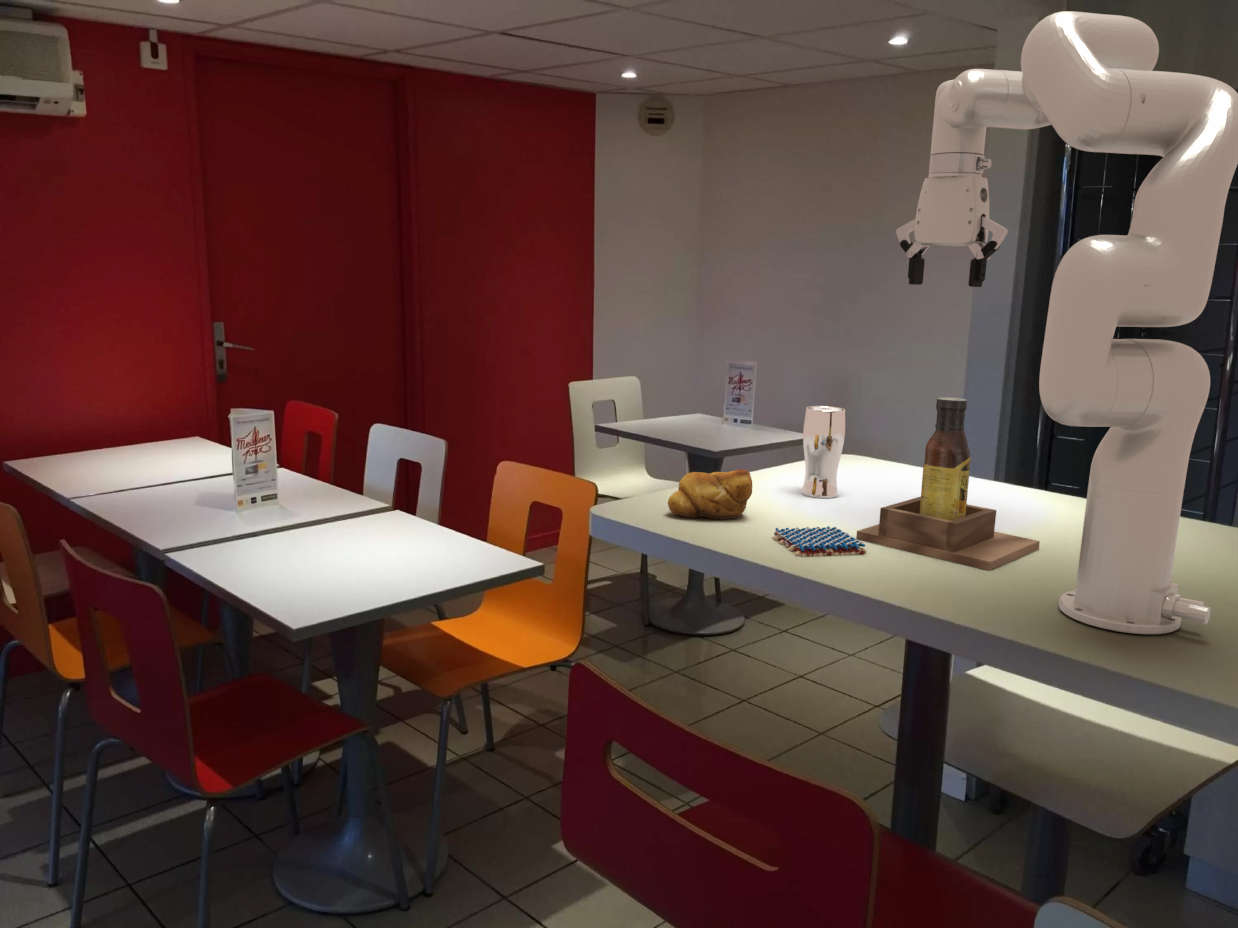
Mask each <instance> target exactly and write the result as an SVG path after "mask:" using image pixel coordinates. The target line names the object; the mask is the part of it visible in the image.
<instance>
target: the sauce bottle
mask: <svg viewBox="0 0 1238 928" xmlns="http://www.w3.org/2000/svg"><path fill="white" fill-rule="evenodd" d="M935 405H936V406H935V409H936V423H935V425H934V426H935V431H934V432H933V433H932V435H931V437H930V438H929V439H928V440H927V443H926V444H925V445H926V446H925V448H924V452H925V453H924V463H923V466H922V467H923V468H922V477H921V478H922V479H921V480H922V481H921V493H920V497H921V501H920V514H922V515H927V516H932V517H937V518H941V519H946V520H951V521H953V520H956V519H959V518H962V517H965V515H966V504H968V503H967V501H968V495H969V494H968V491H969V481H970V470H971V469H970V467H971V456H972V455H971V452H970V448H969V444H968V441H967V437H966V433H965V418H966V417H965V415H966V411H967V407H968V399H966V398H960V397H937V398H936V404H935Z"/></svg>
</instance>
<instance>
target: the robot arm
mask: <svg viewBox="0 0 1238 928" xmlns="http://www.w3.org/2000/svg"><path fill="white" fill-rule="evenodd" d="M1159 53H1160V47H1159V41H1158V37H1157V36H1156V34H1155V32H1154V31H1153V29H1152V28H1151V27H1150V26H1149V25H1147V24H1146V23H1145V22H1144V21H1141V20H1140V19H1137V18H1134V17H1132V16H1126V15H1125V16H1124V15H1118V14H1103V13H1093V12H1086V11H1085V12H1083V11H1075V10H1074V11H1071V10H1070V11H1069V10H1068V11H1066V10H1064V11H1058V12H1054V13H1052V14H1050V15H1047V16H1046V17H1044V18H1043V19H1041V20H1040V21H1039V22H1038V23H1036V24H1035V26H1034V27H1033V28H1032V29H1031V31H1030V32H1029V34H1028V35H1027V36H1026V39H1025V41H1024V44H1023V47H1022V51H1021V55H1020V68H1021V71H1018V70H1008V69H1005V70H1004V69H987V68H986V69H985V68H971V69H967V70H964V71H963V72H961V73H960V74H958V75H957V76H956V77H955V78H954V79H951V80H950V79H949V80H947V81H944V82H942V83H941V84H940V85H939V86H938V87H937V89H936V92H935V98H934V100H935V101H934V112H933V123H932V132H931V133H932V134H931V143H930V144H931V145H930V146H931V147H930V156H929V157H930V158H929V169H928V177H926V178H924V181H923V184H922V186H921V190H920V194H919V197H918V202H917V207H916V214H915V218H914V219H912V220H910V221H908V222H907V223H905V224H902V225H901V226H899V227H898V228H897V229H895V233H896V236H897V240H898V242H899V246H900V248H901V249H902V250H903V252H904V253H905V256H906V257H907V258H908V261H909V262H908V270H907V278H908V284H909V285H914V286H915V285H919V286H920V285H923V282H924V272H925V264H926V263H925V261H926V260H925V258H924V257H923V256H924V254H925V253H926V252H927V251H928V250H929V249H930V247H931V246H933V247H953V248H954V247H963V248H965V247H968V249H969V250H970V251H971V253H972V254H973V256H974V258H972V259H971V260H970V265H969V275H968V276H969V277H968V286H969V287H970V288H972V287H973V288H982V286H983V282H984V281H985V280H986V271H987V262H988V260H990V259H991V257H992V255H993V254H994V253H995V252H997V251H998V249H1000V248H1001V244H1002V243H1003V241H1004V240H1005V238H1006V236H1007V235H1008V233H1009V230H1008V228H1006V227H1005V226H1002V225H1001V224H999V223H998V222H996V221H993V220H992V219H991V218H990V191H989V184H988V183H989V182H988V178H987V177H982V175H983V174H984V171H985V170H986V169H990V168H992V163H993V162H992V159H991V158H986V157H985V147H986V146H985V145H986V134H987V128H1001V129H1013V130H1015V129H1016V130H1033V129H1038V128H1044V127H1048V126H1052V128H1053V129H1054V131H1055V132H1056V133H1057V135H1058V136H1059V137H1060V138H1061V139H1062V141H1064V142H1065V143H1066V144H1067V145H1069V146H1070V147H1072V148H1075V149H1077V150H1079V151H1084V152H1088V153H1089V152H1090V153H1091V152H1092V153H1105V154H1106V153H1109V154H1110V153H1111V154H1122V155H1123V154H1124V155H1125V154H1127V155H1147V156H1148V155H1149V156H1159V157H1162V158H1161V159H1160V160H1159V161H1158V162H1157V163H1156V164H1155V165H1154V166H1153V167H1152V169H1151V170H1150V171H1149V173H1148V174H1147V176H1146V177H1145V178H1144V180H1143V181H1142V183H1141V185H1140V186H1139V188H1138V190H1137V192H1136V195H1135V198H1134V203H1133V211H1132V218H1131V222H1130V228H1129V230H1128V234H1126V235H1123V234H1121V235H1120V234H1098V235H1092V236H1088V237H1085V238H1083V239H1081V240H1078V241H1076V243H1074V244H1073V245H1072V246H1071V247H1070V248H1069V249H1068V250H1067V251H1066V252H1065V254H1064V255H1063V256H1062V258H1061V260H1060V261H1059V264H1058V265H1057V269H1056V271H1055V273H1054V277H1053V280H1052V284H1051V291H1050V295H1049V303H1048V310H1047V317H1046V325H1045V331H1044V338H1043V339H1044V340H1043V345H1042V355H1041V360H1040V367H1039V368H1040V369H1039V380H1038V381H1039V383H1038V384H1039V387H1038V388H1039V397H1040V401H1041V404H1042V407H1043V409H1044V411H1045V413H1046V415H1048V416H1049V417H1050V419H1052V420H1053V421H1055V422H1057V423H1059V424H1061V425H1065V426H1069V427H1086V428H1087V427H1089V428H1090V427H1091V428H1092V427H1094V428H1096V427H1097V428H1098V427H1100V428H1101V427H1103V428H1104V427H1105V428H1106V427H1109V429H1108V431H1107V432H1106V433H1105V435H1104V436H1103V438H1102V439H1101V441H1100V442H1099V444H1098V446H1097V448H1096V450H1095V452H1094V454H1093V457H1092V461H1091V464H1090V471H1089V479H1088V485H1087V495H1086V503H1085V508H1084V509H1085V511H1084V517H1083V518H1084V520H1083V524H1082V525H1083V527H1082V532H1081V533H1082V535H1081V544H1080V550H1079V558H1078V568H1077V573H1076V574H1077V575H1076V582H1075V583H1076V584H1075V590H1071V591H1070V590H1069V591H1067V592H1064V593H1063V594H1061V595H1060V596H1059V601H1058V608H1059V610H1060V611H1061V612H1063V614H1065V615H1066V616H1068V618H1069V617H1070V618H1072V619H1074V620H1075V621H1078V622H1080V623H1083V624H1085V625H1089V626H1092V627H1096V628H1100V629H1104V630H1109V631H1113V632H1118V633H1119V632H1120V633H1128V634H1137V635H1162V634H1163V635H1164V634H1169V633H1172V632H1175V631H1177V630H1178V629H1179V628H1181V624H1182V623H1181V622H1182V619H1186V620H1187V621H1189V622H1190V621H1191V622H1193V623H1194V622H1195V623H1199V624H1203V625H1207V624H1208V622H1209V620H1210V617H1211V607H1210V606H1207V605H1205V602H1204V601H1201V600H1195V599H1191V598H1190V599H1189V598H1185V597H1182V594H1179V593H1178V589H1179V583H1176V582H1171V581H1172V574H1173V568H1174V561H1175V554H1176V546H1177V541H1178V540H1177V539H1178V532H1179V526H1180V519H1181V513H1182V505H1183V499H1184V490H1185V487H1186V486H1185V485H1186V479H1187V472H1188V468H1189V467H1188V465H1189V462H1190V461H1189V460H1190V456H1191V451H1192V447H1193V446H1192V445H1193V443H1194V439H1195V434H1196V431H1197V428H1198V427H1199V426H1198V425H1199V423H1200V422H1201V421H1200V420H1201V418H1202V415H1203V413H1204V411H1205V408H1206V405H1207V402H1208V398H1209V396H1210V395H1209V394H1210V389H1211V388H1210V387H1211V375H1210V369H1209V367H1208V366H1209V365H1208V364H1207V362H1206V361H1205V359H1204V358H1203V356H1202V355H1201V354H1200V353H1199V352H1198V351H1197V350H1195V349H1194V348H1193V347H1191V346H1189V345H1187V344H1185V343H1182V342H1178V341H1173V340H1168V339H1167V340H1166V339H1158V338H1157V339H1156V338H1155V339H1152V338H1150V339H1149V338H1122V339H1121V338H1120V339H1119V338H1114V336H1115V332H1116V328H1117V327H1123V328H1125V327H1127V328H1128V327H1130V328H1133V327H1134V328H1135V327H1136V328H1137V327H1138V328H1169V327H1170V328H1171V327H1179V326H1182V325H1183V326H1184V325H1186V324H1189V323H1191V322H1193V321H1194V320H1196V319H1197V318H1198V317H1199V316H1200V315H1202V313H1203V311H1204V309H1205V307H1206V305H1207V302H1208V298H1209V296H1210V291H1211V287H1212V284H1213V278H1214V272H1215V265H1216V262H1217V255H1218V249H1219V246H1220V245H1219V243H1220V238H1221V233H1222V228H1223V222H1224V217H1225V215H1224V214H1225V206H1226V202H1227V199H1228V194H1229V190H1230V187H1231V183H1232V180H1233V177H1234V175H1235V172H1236V169H1237V167H1238V92H1237V90H1236V89H1234V88H1233V87H1232V86H1230V85H1229V84H1228V83H1225V82H1223V81H1221V80H1218V79H1216V78H1214V77H1213V78H1212V77H1209V76H1206V75H1205V76H1204V75H1199V74H1193V73H1184V72H1176V71H1175V72H1173V71H1160V70H1154V68H1155V66H1156V64H1157V62H1158V58H1159ZM989 231H990V232H991V233H992V236H991V240H990V241H988V239H989ZM912 232H913V237H914V238H913V239H914V243H913V242H912V241H911V239H910V234H911V233H912ZM922 257H923V258H922Z"/></svg>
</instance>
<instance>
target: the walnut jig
mask: <svg viewBox="0 0 1238 928" xmlns="http://www.w3.org/2000/svg"><path fill="white" fill-rule="evenodd" d="M920 501H921V496H918V497H913V498H911V499H908V500H903V501H899V502H896V503H893V504H889V505H887V506H886V505H885V506H883V507H880V508H879V509H880V510H879V521H878V523H879V524H875V525H872V526H869V527H866V528H865V527H864V528H862V529H858V530H856V537H855V539H856V538H857V541H862V542H868V543H871V544H876V545H880V546H884V547H889V548H894V549H897V550H901V551H906V552H910V553H914V554H918V555H922V556H927V557H930V558H935V559H939V560H943V561H946V562H947V561H948V562H952V563H955V564H960V565H965V566H969V567H973V568H977V569H980V570H981V569H982V570H985V571H992V570H994V569H997V568H999V567H1001V566H1003V565H1007V564H1009V563H1011V562H1013V561H1015V560H1017V559H1020V558H1022V557H1024V556H1027V555H1029V554H1031V553H1034V552H1035V551H1038V550H1040V543H1041V541H1040V540H1036V539H1031V538H1026V537H1022V536H1018V535H1012V534H1009V533H1008V534H1007V533H1004V532H1003V533H1002V532H999V531H995V530H996V529H995V528H996V527H995V526H996V520H997V519H996V516H997V509H991V508H989V507H984V506H977V505H972V504H968V503H967V504H966V515H965V517H962V518H959V519H956V520H953V521H951V520H946V519H941V518H937V517H932V516H927V515H922V514H920Z"/></svg>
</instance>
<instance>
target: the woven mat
mask: <svg viewBox="0 0 1238 928" xmlns="http://www.w3.org/2000/svg"><path fill="white" fill-rule="evenodd" d="M774 530H775V531H774V532H773V535H774V536H772V537H771V539H774V540H775V542H776V543H777V544H778V543H779V544H780V545H781V546H784V547H785V548H787V549H788V550H789V551H790V552H791V554H794V555H796V556H797V557H818V556H819V557H820V556H847V555H848V556H849V555H850V556H851V555H865V554H866V553H867V550H866V549H865V547H866V544H865V543H863V542H864V541H861V540H858V539H857V538H856V537H854V536H850V534H849V532H847V533H846V532H845V531H844V530H842V529H840V528H837V527H836V526H835V527H834V526H833V527H830V526H826V527H819V526H816V527H812V528H810V527H809V526H807V527H806V528H805V527H803V528H799V527H795V528H794V527H793V528H791V529H790V528H789V527H785V528H781V529H779V528H778V527H776V528H775V529H774Z"/></svg>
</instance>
